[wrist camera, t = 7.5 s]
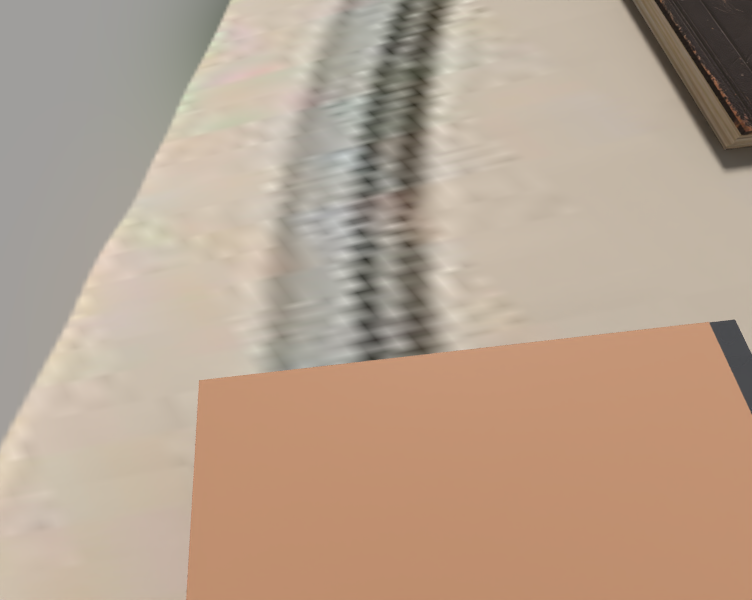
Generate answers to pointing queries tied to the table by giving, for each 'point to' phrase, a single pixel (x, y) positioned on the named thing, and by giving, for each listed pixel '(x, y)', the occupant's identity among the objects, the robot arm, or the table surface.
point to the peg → (480, 476)
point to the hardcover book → (710, 58)
